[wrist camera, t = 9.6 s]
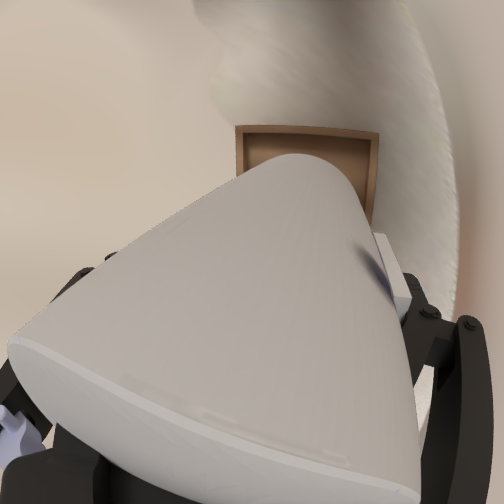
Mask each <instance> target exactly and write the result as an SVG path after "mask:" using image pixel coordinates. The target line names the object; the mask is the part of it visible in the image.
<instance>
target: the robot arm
mask: <svg viewBox="0 0 504 504" xmlns="http://www.w3.org/2000/svg"><path fill="white" fill-rule="evenodd" d="M373 237H374V240H375V243H376V245H377V248H378V251H379V254H380V257H381V260H382V263H383V266H384V269H385V272H386V276H387V279H388V282H389V285H390V289H391V296H392V298H393V300H394V303H395V306H396V310H397V314H398V318H399V322H400V326H401V330H402V334H403V338H404V343H405V347H406V352H407V357H408V362H409V367H410V372H411V378H412V384H413V388H414V385H415V383H416V381H417V379H418V377H419V375H420V372H421V370H422V368H423V366H424V364H425V365H428V366H432V367H434V378H433V389H432V398H431V406H430V413H429V420H428V426H427V432H426V437H425V442H424V447H423V451H422V455H421V501H420V504H486V499H487V494H488V488H489V482H490V474H491V465H492V454H493V429H494V424H493V422H494V421H493V420H494V419H493V395H492V384H491V373H490V365H489V358H488V352H487V346H486V341H485V335H484V330H483V327H482V324H481V323H480V322H479V321H478V320H477V319H475V318H474V317H471V316H468V315H463V316H460V317H459V318H458V320H457V323H453V322H449V321H446V320H443V319H441V313H440V311H439V310H438V309H437V308H436V307H434V306H432V305H430V304H428V301H427V299H426V297H425V294H424V292H423V290H422V288H421V286H420V283H419V281H418V279H417V278H416V277H415V276H414V275H412V274H409V273H402V271H401V269H400V266H399V264H398V261H397V259H396V257H395V255H394V252H393V250H392V248H391V246H390V244H389V241H388V239H387V237H386V235H385V234H383V233H374V232H373ZM118 252H119V251H118ZM116 253H117V252H114V253H111V254H109V255H108V256H106V257H105V261H106V260H107V259H109V258H110V257H111V256H113V255H114V254H116ZM94 269H95V268H93V267H91V268H88V267H87V268H83V269H82V270H80V271H79V272H77V273H76V274H75V275H74V277H72V279H71V280H70V281H69V282H68V283H67V284H66V285H65V287H63V289H62V290H61V291H60V292H59V293H58V294H57V295H56V297H55V298H54V299H53V300H52V301H54V300H55V299H56V298H57V297H59V296H60V295H61V294H62V293H64V292H65V291H66V290H67V289H69V288H70V287H71V286H72V285H74V284H75V283H76V282H78V281H79V280H80V279H82V278H83V277H84V276H86V275H87V274H88V273H90V272H91V271H92V270H94ZM52 301H51V302H52ZM51 302H50V303H51ZM52 426H53V424H52V423H51V422H50V421H49V420H48V419H47V418H46V417H45V415H44V414H43V413H42V412H41V411H40V410H39V409H38V407H37V406H36V405H35V403H34V402H33V401H32V399H31V398H30V397H29V395H28V394H27V393H26V391H25V389H24V388H23V387H22V385H21V383H20V382H19V380H18V378H17V376H16V374H15V373H14V371H13V368H12V366H11V364H10V361H9V358H8V359H7V360H6V362H5V363H4V365H3V366H2V368H1V369H0V466H1V468H2V469H3V471H4V472H3V476H2V484H1V492H0V504H202V503H199V502H196V501H193V500H190V499H188V498H185V497H182V496H180V495H177V494H174V493H172V492H169V491H167V490H164V489H162V488H160V487H157V486H155V485H153V484H151V483H149V482H147V481H144V480H142V479H140V478H138V477H136V476H134V475H132V474H130V473H128V472H126V471H125V470H123V469H121V468H119V467H117V466H116V465H114V464H112V463H110V462H109V461H108V460H107V459H106V458H105V457H104V456H103V455H102V454H100V453H99V452H98V451H96V450H95V449H93V448H92V447H90V446H89V445H87V444H86V443H84V442H83V441H81V440H80V439H78V438H77V437H76V436H74V435H73V434H71V433H70V432H69V431H67V430H66V429H65V428H63V427H62V426H61V425H60V424H59V423H57V422H56V428H55V435H54V441H53V448H50V449H47V450H46V448H45V446H44V445H43V444H42V442H43V440H44V439H45V438H46V436H47V435H48V433H49V431H50V430H51V428H52Z"/></svg>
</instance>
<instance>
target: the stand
mask: <svg viewBox="0 0 504 504" xmlns="http://www.w3.org/2000/svg"><path fill="white" fill-rule="evenodd" d="M235 132H236V174H237V177H238V176H239V175H241V174H243V173H245V172H247V171H248V170H250V169H252V168H254V167H256V166H258V165H259V164H261V163H263V162H265V161H267V160H269V159H271V158H274V157H277V156H280V155H285V154H307V155H311V156H315V157H318V158H321V159H323V160H325V161H327V162H329V163H330V164H332V165H334V166H335V167H336V168H338V169H339V170H340V171H341V172H342V173H343V174H344V175H345V176H346V177H347V179H348V180H349V181H350V183H351V184H352V186H353V188H354V190H355V192H356V194H357V196H358V199H359V201H360V204H361V206H362V208H363V211H364V213H365V216H366V219H367V221H368V224H369V226H370V224H371V217H372V210H373V202H374V193H375V183H376V173H377V160H378V144H379V133H372V132H365V131H356V130H347V129H337V128H325V127H309V126H285V125H241V126H235Z"/></svg>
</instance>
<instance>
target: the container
mask: <svg viewBox="0 0 504 504" xmlns="http://www.w3.org/2000/svg"><path fill="white" fill-rule="evenodd" d="M7 353H8V358H9V361H10V364H11V366H12V368H13V371H14V373H15V374H16V376H17V378H18V380H19V382H20V383H21V385H22V387H23V388H24V389H25V391H26V393H27V394H28V395H29V397H30V398H31V399H32V401H33V402H34V403H35V405H36V406H37V407H38V409H39V410H40V411H41V412H42V413H43V414H44V415H45V417H46V418H47V419H48V420H49V421H50V422H51V423H52V424H53V425H54V426H55V427H56V422H57V423H59V424H60V425H61V426H62V427H63V428H65V429H66V430H67V431H69V432H70V433H71V434H73V435H74V436H76V437H77V438H78V439H80V440H81V441H83V442H84V443H86V444H87V445H89V446H90V447H92V448H93V449H95V450H96V451H98V452H99V453H100V454H102V455H103V456H104V457H105V458H106V459H107V460H108V461H109V462H110V463H112V464H114V465H116V466H117V467H119V468H121V469H123V470H125V471H126V472H128V473H130V474H132V475H134V476H136V477H138V478H140V479H142V480H144V481H147V482H149V483H151V484H153V485H155V486H157V487H160V488H162V489H164V490H167V491H169V492H172V493H174V494H177V495H180V496H182V497H185V498H188V499H190V500H193V501H196V502H199V503H202V504H420V501H421V459H420V443H419V430H418V420H417V412H416V404H415V397H414V390H413V384H412V378H411V372H410V367H409V362H408V357H407V352H406V347H405V343H404V338H403V334H402V330H401V326H400V322H399V318H398V314H397V310H396V306H395V303H394V300H393V298H392V296H391V289H390V285H389V282H388V279H387V276H386V272H385V269H384V266H383V263H382V260H381V257H380V254H379V251H378V248H377V245H376V243H375V240H374V237H373V234H372V232H371V229H370V226H369V224H368V221H367V219H366V216H365V213H364V211H363V208H362V206H361V204H360V201H359V199H358V196H357V194H356V192H355V190H354V188H353V186H352V184H351V183H350V181H349V180H348V179H347V177H346V176H345V175H344V174H343V173H342V172H341V171H340V170H339V169H338V168H336V167H335V166H334V165H332V164H330V163H329V162H327V161H325V160H323V159H321V158H318V157H315V156H311V155H307V154H285V155H280V156H277V157H274V158H271V159H269V160H267V161H265V162H263V163H261V164H259V165H258V166H256V167H254V168H252V169H250V170H248V171H247V172H245V173H243V174H241V175H239V176H238V177H236V178H234V179H232V180H231V181H229V182H227V183H225V184H224V185H222V186H221V187H218V188H217V189H215V190H213V191H212V192H210V193H208V194H207V195H205V196H203V197H202V198H200V199H198V200H197V201H195V202H193V203H192V204H190V205H188V206H187V207H185V208H184V209H182V210H180V211H179V212H177V213H176V214H174V215H172V216H171V217H169V218H168V219H166V220H165V221H163V222H162V223H160V224H158V225H157V226H155V227H154V228H152V229H151V230H149V231H148V232H146V233H145V234H144V235H142V236H140V237H139V238H137V239H136V240H134V241H133V242H132V243H130V244H129V245H127V246H126V247H124V248H123V249H121V250H120V251H119V252H117V253H116V254H114V255H113V256H111V257H110V258H109V259H107V260H106V261H105V262H103V263H102V264H100V265H99V266H98V267H96V268H95V269H94V270H92V271H91V272H90V273H88V274H87V275H86V276H84V277H83V278H82V279H80V280H79V281H78V282H76V283H75V284H74V285H72V286H71V287H70V288H69V289H67V290H66V291H65V292H64V293H62V294H61V295H60V296H59V297H57V298H56V299H55V300H54V301H52V302H51V303H50V304H49V305H47V307H45V308H44V309H43V310H42V311H40V312H39V313H38V314H37V315H36V316H34V317H33V318H32V319H31V320H30V321H29V322H28V323H26V324H25V325H24V326H23V327H22V328H21V329H19V330H18V332H16V333H15V334H14V335H13V336H12V337H11V338H10V339H9V340H8V343H7Z"/></svg>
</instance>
